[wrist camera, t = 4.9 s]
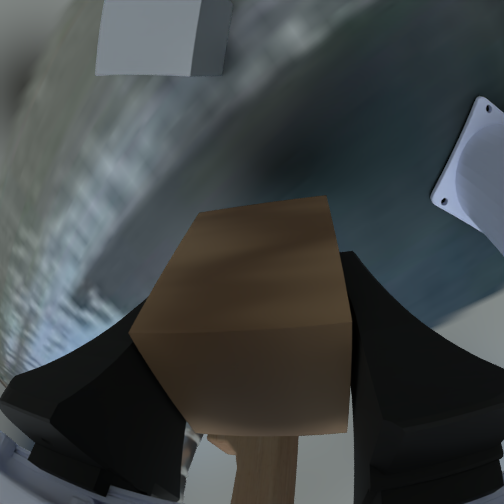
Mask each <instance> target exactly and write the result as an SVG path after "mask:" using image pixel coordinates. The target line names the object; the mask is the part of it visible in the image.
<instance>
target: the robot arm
mask: <svg viewBox="0 0 504 504" xmlns="http://www.w3.org/2000/svg"><path fill="white" fill-rule="evenodd" d="M487 105H488V106H489V110H488V112H487V111H486V106H487ZM443 198H446V200H445V202H444V203H441V200H442V199H443ZM430 199H431V201H432V203H433V204H435V205H436V206H438V207H440V208H441V209H443V210H445V211H447V212H449V213H450V214H452V215H454V216H455V217H457V218H459V219H461V220H462V221H464V222H466V223H467V224H469V225H471V226H472V227H474V228H476V229H477V230H479V231H481V232H482V233H484V234H485V235H486V236H487V238H488V239H489V240H490V241H491V242H492V243H493V244H494V245H495V247H496V248H497V249H498V250H499V251H500V252H501V254H502V255H503V256H504V113H503V112H502V111H501V110H500V109H498V108H497V107H496V106H495V105H494V104H492V103H491V102H490V101H489V100H488V99H486V98H485V97H481V96H479V97H477V98H476V100H475V102H474V105H473V107H472V109H471V112H470V114H469V117H468V119H467V121H466V123H465V126H464V128H463V130H462V132H461V135H460V137H459V139H458V141H457V143H456V146H455V148H454V150H453V152H452V154H451V156H450V158H449V160H448V162H447V164H446V166H445V168H444V170H443V172H442V174H441V176H440V178H439V180H438V182H437V184H436V186H435V188H434V189H433V191H432V193H431V196H430ZM339 254H340V259H341V264H342V269H343V274H344V279H345V284H346V290H347V295H348V301H349V306H350V312H351V318H352V358H351V383H350V386H351V394H352V408H353V427H354V504H504V473H503V474H502V471H501V466H500V461H499V459H501V458H502V457H503V449H502V445H501V442H502V441H503V440H504V369H503V368H501V367H499V366H497V365H494V364H492V363H490V362H488V361H485V360H483V359H481V358H479V357H477V356H475V355H473V354H471V353H469V352H468V351H466V350H464V349H462V348H460V347H458V346H457V345H455V344H453V343H452V342H450V341H448V340H447V339H445V338H444V337H442V336H441V335H439V334H438V333H436V332H435V331H433V330H432V329H430V328H429V327H428V326H426V325H425V324H423V323H422V322H421V321H420V320H418V319H417V318H416V317H415V316H413V315H412V314H411V313H410V312H409V311H408V310H406V309H405V308H404V307H403V306H402V305H401V304H400V303H399V302H398V301H397V300H396V299H395V298H394V297H393V296H391V295H390V293H389V292H388V291H387V290H386V289H385V288H384V287H383V286H382V285H381V284H380V283H379V282H378V281H377V280H376V279H375V277H374V276H373V275H372V274H371V273H370V272H369V270H368V269H367V268H366V267H365V266H364V264H363V263H362V262H361V260H360V259H359V258H358V256H357V255H356V254H355V253H354V252H353V251H348V252H339ZM147 298H148V297H147ZM147 298H146V299H145V300H144V301H143V302H142V303H141V304H139V305H138V306H137V307H136V308H134V309H133V310H132V311H131V312H130V313H128V314H127V315H126V316H125V317H123V318H122V319H121V320H120V321H118V322H117V323H116V324H114V325H113V326H112V327H110V328H109V329H108V330H106V331H105V332H103V333H102V334H100V335H99V336H97V337H96V338H94V339H93V340H91V341H89V342H88V343H86V344H84V345H83V346H81V347H79V348H78V349H76V350H74V351H72V352H71V353H69V354H67V355H65V356H63V357H61V358H59V359H57V360H55V361H52V362H50V363H48V364H46V365H43V366H41V367H39V368H36V369H33V370H30V371H28V372H25V373H22V374H19V375H16V376H15V377H14V378H13V379H12V380H11V381H10V383H9V385H8V386H7V388H6V389H5V391H4V393H3V394H2V396H1V398H0V409H1V411H2V412H3V413H4V414H5V416H6V417H7V418H8V419H9V420H10V421H11V422H12V423H14V424H15V425H16V426H17V427H18V428H19V429H20V430H21V431H22V432H23V433H25V434H26V435H27V436H28V437H29V438H30V439H32V440H33V441H34V442H35V445H34V447H33V449H32V451H31V452H30V451H28V450H26V449H24V448H22V447H20V446H18V445H17V444H16V443H15V442H14V441H13V440H12V439H10V438H9V437H8V436H7V435H6V434H4V433H3V432H2V431H0V504H182V503H177V502H178V501H179V500H180V481H181V463H182V453H183V443H184V436H185V429H186V422H187V421H186V420H185V418H184V417H183V416H182V414H181V413H180V412H179V410H178V409H177V407H176V406H175V405H174V403H173V402H172V400H171V399H170V397H169V396H168V395H167V393H166V392H165V390H164V389H163V387H162V386H161V384H160V383H159V381H158V380H157V378H156V377H155V375H154V374H153V372H152V371H151V369H150V368H149V366H148V364H147V363H146V361H145V360H144V358H143V356H142V355H141V353H140V352H139V350H138V348H137V347H136V345H135V343H134V342H133V340H132V338H131V337H130V335H129V333H128V332H129V331H130V329H131V327H132V325H133V323H134V321H135V320H136V318H137V316H138V314H139V313H140V311H141V309H142V307H143V305H144V304H145V302H146V300H147Z"/></svg>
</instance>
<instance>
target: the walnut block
mask: <svg viewBox="0 0 504 504" xmlns="http://www.w3.org/2000/svg"><path fill="white" fill-rule="evenodd" d="M128 333H129V335H130V337H131V338H132V340H133V342H134V343H135V345H136V347H137V348H138V350H139V352H140V353H141V355H142V356H143V358H144V360H145V361H146V363H147V364H148V366H149V368H150V369H151V371H152V372H153V374H154V375H155V377H156V378H157V380H158V381H159V383H160V384H161V386H162V387H163V389H164V390H165V392H166V393H167V395H168V396H169V397H170V399H171V400H172V402H173V403H174V405H175V406H176V407H177V409H178V410H179V412H180V413H181V414H182V416H183V417H184V418H185V420H186V421H187V422H188V424H189V425H190V426H191V428H192V429H193V430H194V432H195V433H201V434H214V435H231V436H305V435H323V434H336V433H346V432H347V427H348V414H349V400H350V383H351V358H352V318H351V312H350V306H349V301H348V295H347V290H346V284H345V279H344V274H343V269H342V264H341V259H340V254H339V249H338V245H337V240H336V235H335V231H334V226H333V222H332V218H331V213H330V209H329V205H328V201H327V197H326V195H325V196H316V197H308V198H300V199H292V200H284V201H276V202H269V203H261V204H254V205H247V206H240V207H233V208H227V209H220V210H214V211H207V212H201V213H199V214H198V215H197V217H196V219H195V220H194V222H193V223H192V225H191V226H190V228H189V230H188V231H187V233H186V234H185V236H184V238H183V239H182V241H181V243H180V244H179V246H178V248H177V249H176V251H175V252H174V254H173V256H172V257H171V259H170V261H169V262H168V264H167V266H166V267H165V269H164V271H163V273H162V274H161V276H160V278H159V279H158V281H157V283H156V284H155V286H154V288H153V290H152V291H151V293H150V295H149V297H148V298H147V300H146V302H145V304H144V305H143V307H142V309H141V311H140V313H139V314H138V316H137V318H136V320H135V321H134V323H133V325H132V327H131V329H130V331H129V332H128Z"/></svg>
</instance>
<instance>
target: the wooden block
mask: <svg viewBox="0 0 504 504" xmlns="http://www.w3.org/2000/svg"><path fill="white" fill-rule="evenodd" d="M207 439H208V441H210V442H211V443H212V444H214V445H215V446H217V447H218V448H219V449H221V450H222V451H224V452H225V453H227V454H230V455H236V462H237V472H236V477H235V483H234V488H233V494H232V500H231V504H294V495H295V482H296V469H297V454H298V436H231V435H214V434H208V436H207Z"/></svg>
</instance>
